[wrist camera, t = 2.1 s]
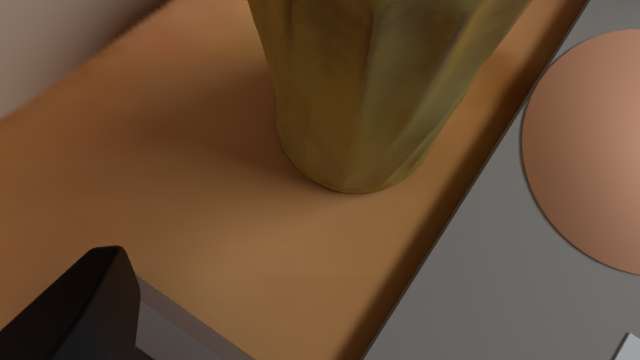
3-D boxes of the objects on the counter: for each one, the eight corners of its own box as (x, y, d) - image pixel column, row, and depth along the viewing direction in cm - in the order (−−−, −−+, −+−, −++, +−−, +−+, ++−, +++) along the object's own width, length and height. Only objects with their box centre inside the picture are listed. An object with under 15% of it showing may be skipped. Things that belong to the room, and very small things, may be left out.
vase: (271, 190, 20) (132, 14, 6) (280, 35, 21) (180, -443, 7) (435, 198, 20) (705, 35, 6) (437, 41, 21) (672, -435, 7)
